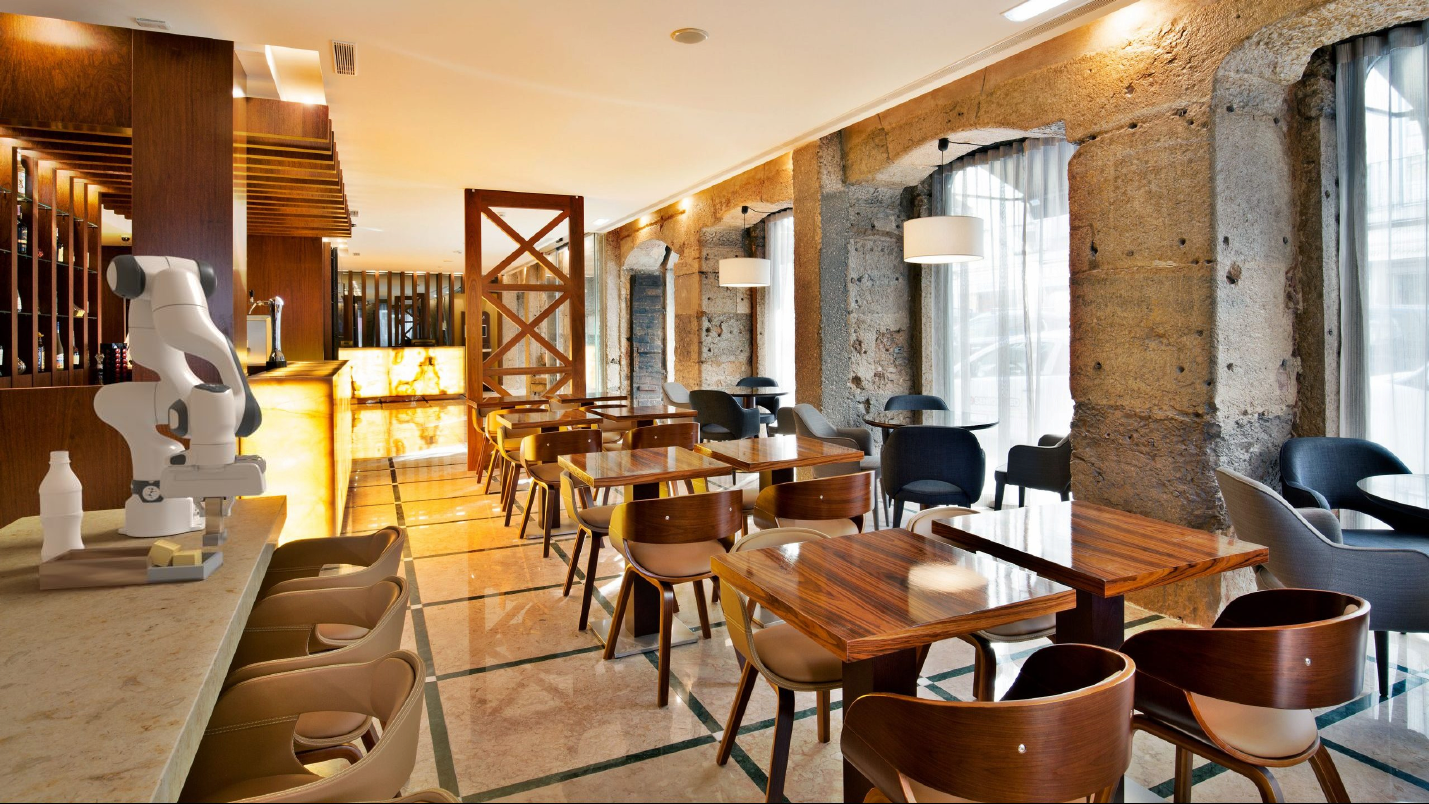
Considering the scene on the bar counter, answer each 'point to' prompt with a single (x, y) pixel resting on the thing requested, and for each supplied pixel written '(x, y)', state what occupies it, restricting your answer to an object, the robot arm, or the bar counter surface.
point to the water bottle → (60, 508)
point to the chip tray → (187, 570)
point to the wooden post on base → (214, 522)
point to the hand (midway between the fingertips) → (215, 516)
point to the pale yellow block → (163, 552)
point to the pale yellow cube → (187, 558)
